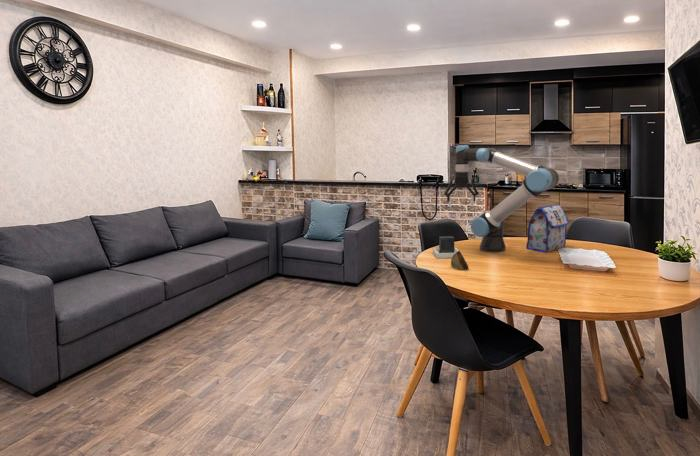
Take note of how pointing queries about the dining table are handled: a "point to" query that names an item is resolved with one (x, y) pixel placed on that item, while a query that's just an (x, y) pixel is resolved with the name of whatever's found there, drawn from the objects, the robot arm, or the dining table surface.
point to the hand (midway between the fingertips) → (460, 206)
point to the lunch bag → (547, 229)
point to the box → (446, 244)
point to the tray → (443, 254)
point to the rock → (459, 261)
